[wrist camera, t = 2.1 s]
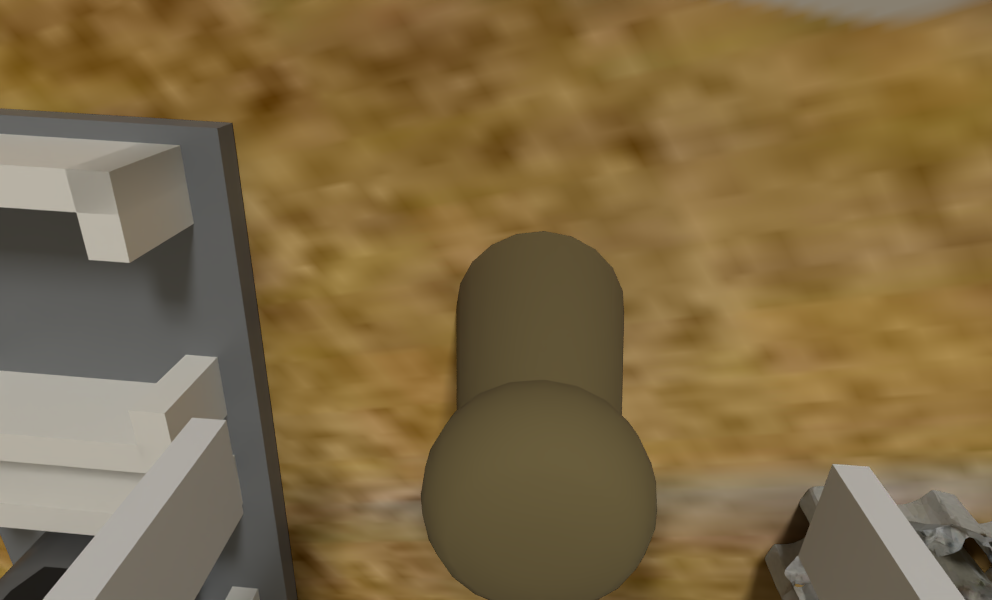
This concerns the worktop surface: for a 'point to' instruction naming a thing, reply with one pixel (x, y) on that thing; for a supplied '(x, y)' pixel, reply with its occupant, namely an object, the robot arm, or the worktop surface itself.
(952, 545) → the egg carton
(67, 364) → the socket board
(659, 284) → the worktop surface
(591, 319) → the cork
